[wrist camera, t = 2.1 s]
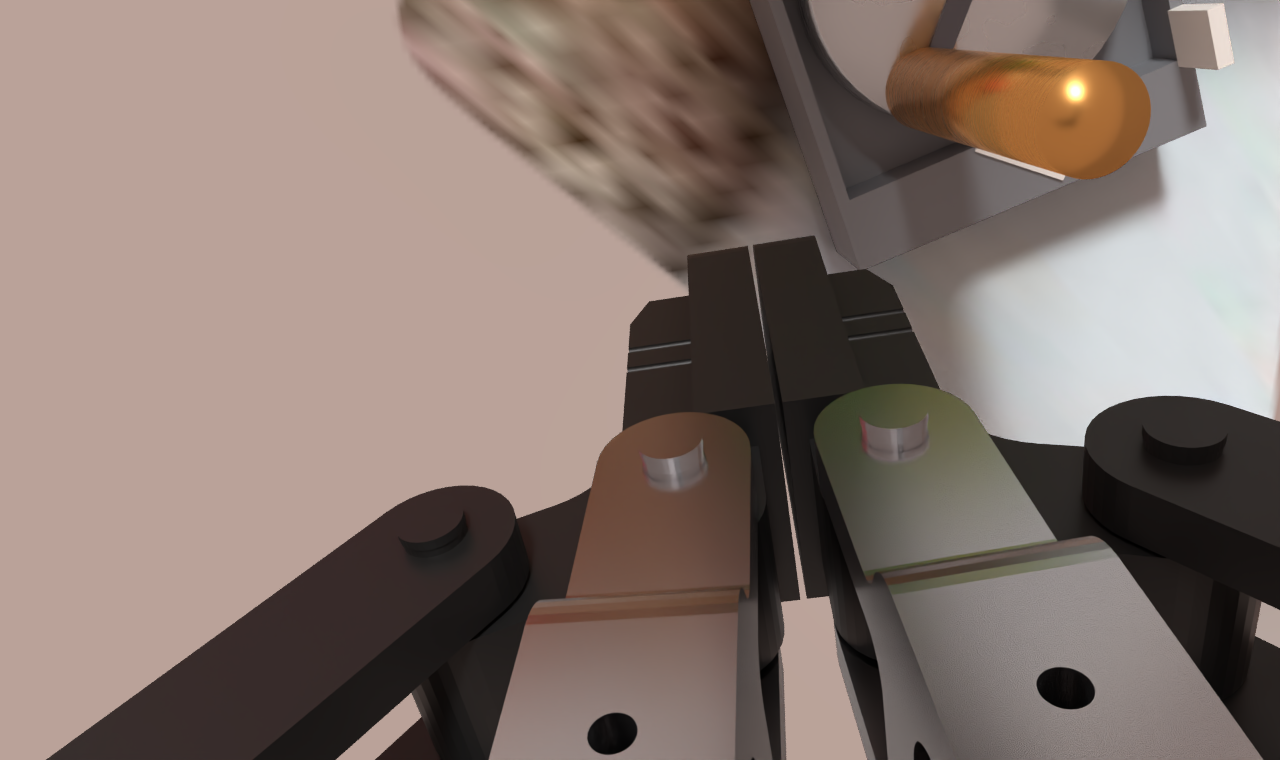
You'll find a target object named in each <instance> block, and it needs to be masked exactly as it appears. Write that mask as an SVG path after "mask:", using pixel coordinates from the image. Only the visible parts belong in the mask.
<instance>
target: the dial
mask: <svg viewBox="0 0 1280 760" xmlns="http://www.w3.org/2000/svg"><path fill="white" fill-rule="evenodd" d="M796 1H797V5H798V10H799V15H800V18H801V21H802V23H803V26H804V29H805V32H806V35H807V37H808V39H809V41H810V43H811V45H812V47H813V49H814V51H815V53H816V54H817V56H818V57H819V59H820V60H821V62H822V63H823V65H824V66H825V67H826V69H827V70H828V72H829V73H830V74H831V75H832V76H833V77H834V78H835V79H836V80H837V81H838V82H839V83H840V85H841V86H843V87H844V88H845V89H846V90H848V91H849V92H850V93H851V94H852V95H854V96H855V97H856V98H858V99H859V100H861V101H863V102H864V103H866V104H868V105H869V106H871V107H873V108H875V109H877V110H880V111H882V112H885V113H887V114H889V115H892V116H893V117H894V118H895V119H896V120H897V121H898V122H900V123H901V124H903V125H904V126H907V127H909V128H912V129H916V130H919V131H922V132H925V133H929V134H932V135H935V136H938V137H942V138H945V139H948V140H951V141H955V142H958V143H961V144H964V145H968V146H971V147H974V148H977V149H981V150H984V151H987V152H990V153H994V154H997V155H1000V156H1003V157H1007V158H1010V159H1013V160H1016V161H1019V162H1023V163H1026V164H1029V165H1032V166H1036V167H1039V168H1042V169H1045V170H1049V171H1052V172H1055V173H1058V174H1062V175H1065V176H1068V177H1072V178H1076V179H1094V178H1099V177H1102V176H1106V175H1108V174H1110V173H1112V172H1114V171H1116V170H1117V169H1119V168H1120V167H1122V166H1123V165H1124V164H1125V163H1127V162H1128V161H1129V160H1130V159H1131V158H1132V156H1133V155H1134V154H1135V153H1136V152H1137V150H1138V149H1139V147H1140V146H1141V144H1142V142H1143V140H1144V138H1145V136H1146V133H1147V131H1148V127H1149V124H1150V117H1151V103H1150V97H1149V93H1148V91H1147V88H1146V86H1145V84H1144V82H1143V81H1142V79H1141V78H1140V77H1139V75H1138V74H1137V73H1135V72H1134V71H1133V70H1132V69H1130V68H1129V67H1127V66H1125V65H1123V64H1121V63H1117V62H1114V61H1104V60H1092V59H1093V58H1094V57H1095V56H1096V54H1097V53H1098V52H1099V51H1100V50H1101V48H1102V47H1103V45H1104V44H1105V42H1106V40H1107V39H1108V37H1109V36H1110V34H1111V33H1112V31H1113V30H1114V28H1115V26H1116V24H1117V22H1118V20H1119V18H1120V16H1121V14H1122V12H1123V10H1124V8H1125V6H1126V3H1127V0H796Z"/></svg>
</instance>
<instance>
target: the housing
mask: <svg viewBox="0 0 1280 760" xmlns="http://www.w3.org/2000/svg"><path fill="white" fill-rule="evenodd" d="M749 1H750V4H751V6H752V9H753V12H754V15H755V18H756V21H757V24H758V27H759V29H760V32H761V35H762V38H763V41H764V44H765V47H766V50H767V52H768V55H769V58H770V61H771V64H772V67H773V70H774V73H775V75H776V78H777V81H778V84H779V87H780V90H781V93H782V96H783V98H784V101H785V104H786V107H787V110H788V113H789V116H790V119H791V121H792V124H793V127H794V130H795V133H796V136H797V139H798V142H799V144H800V147H801V150H802V153H803V156H804V159H805V162H806V165H807V167H808V170H809V173H810V176H811V179H812V182H813V185H814V188H815V190H816V193H817V196H818V199H819V202H820V205H821V208H822V211H823V213H824V216H825V219H826V222H827V225H828V228H829V231H830V234H831V236H832V239H833V242H834V245H835V248H836V251H837V252H838V253H839V254H840V255H842V256H843V257H844V258H845V259H846V260H848V261H849V262H850V263H851V264H852V265H854V266H855V267H856V268H857V269H858V270H862V269H868V268H870V267H872V266H875V265H877V264H879V263H882V262H884V261H887V260H889V259H891V258H894V257H896V256H899V255H901V254H903V253H906V252H908V251H910V250H913V249H915V248H918V247H920V246H922V245H925V244H927V243H929V242H932V241H934V240H937V239H939V238H941V237H944V236H946V235H949V234H951V233H953V232H956V231H958V230H960V229H963V228H965V227H968V226H970V225H972V224H975V223H977V222H979V221H982V220H984V219H987V218H989V217H991V216H994V215H996V214H999V213H1001V212H1003V211H1006V210H1008V209H1010V208H1013V207H1015V206H1018V205H1020V204H1022V203H1025V202H1027V201H1029V200H1032V199H1034V198H1037V197H1039V196H1041V195H1044V194H1046V193H1049V192H1051V191H1053V190H1056V189H1058V188H1060V187H1063V186H1065V185H1068V184H1070V183H1072V182H1075V181H1077V180H1079V179H1076V178H1072V177H1068V176H1065V175H1062V174H1058V173H1055V172H1052V171H1049V170H1045V169H1042V168H1039V167H1036V166H1032V165H1029V164H1026V163H1023V162H1019V161H1016V160H1013V159H1010V158H1007V157H1003V156H1000V155H997V154H994V153H990V152H987V151H984V150H981V149H977V148H974V147H971V146H968V145H964V144H961V143H958V142H955V141H951V140H948V139H945V138H942V137H938V136H935V135H932V134H929V133H925V132H922V131H919V130H916V129H912V128H909V127H907V126H904V125H903V124H901V123H900V122H898V121H897V120H896V119H895V118H894V117H893V116H892V115H889V114H887V113H885V112H882V111H880V110H877V109H875V108H873V107H871V106H869V105H868V104H866V103H864V102H863V101H861V100H859V99H858V98H856V97H855V96H854V95H852V94H851V93H850V92H849V91H848V90H846V89H845V88H844V87H843V86H841V85H840V83H839V82H838V81H837V80H836V79H835V78H834V77H833V76H832V75H831V74H830V73H829V72H828V70H827V69H826V67H825V66H824V65H823V63H822V62H821V60H820V59H819V57H818V56H817V54H816V53H815V51H814V49H813V47H812V45H811V43H810V41H809V39H808V37H807V35H806V32H805V29H804V26H803V23H802V21H801V18H800V15H799V10H798V5H797V1H796V0H749ZM1092 60H1104V61H1114V62H1117V63H1121V64H1123V65H1125V66H1127V67H1129V68H1130V69H1132V70H1133V71H1134V72H1135V73H1137V74H1138V75H1139V77H1140V78H1141V79H1142V81H1143V82H1144V84H1145V86H1146V88H1147V91H1148V93H1149V97H1150V103H1151V117H1150V124H1149V127H1148V131H1147V133H1146V136H1145V138H1144V140H1143V142H1142V144H1141V146H1140V147H1139V149H1138V150H1137V152H1136V153H1135V154H1134V155H1133V156H1132V157H1134V156H1137V155H1139V154H1141V153H1144V152H1146V151H1149V150H1151V149H1153V148H1156V147H1158V146H1160V145H1163V144H1165V143H1168V142H1170V141H1172V140H1175V139H1177V138H1180V137H1182V136H1184V135H1187V134H1189V133H1191V132H1194V131H1196V130H1199V129H1201V128H1203V127H1206V121H1205V116H1204V111H1203V105H1202V100H1201V95H1200V90H1199V85H1198V80H1197V75H1196V69H1195V68H1200V69H1213V70H1219V69H1222V68H1224V67H1226V66H1229V65H1231V64H1233V63H1234V58H1233V52H1232V47H1231V41H1230V36H1229V30H1228V25H1227V19H1226V13H1225V8H1224V3H1215V4H1183V2H1182V0H1127V3H1126V6H1125V8H1124V10H1123V12H1122V14H1121V16H1120V18H1119V20H1118V22H1117V24H1116V26H1115V28H1114V30H1113V31H1112V33H1111V34H1110V36H1109V37H1108V39H1107V40H1106V42H1105V44H1104V45H1103V47H1102V48H1101V50H1100V51H1099V52H1098V53H1097V54H1096V56H1095V57H1094V58H1093V59H1092Z"/></svg>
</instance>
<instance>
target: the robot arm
mask: <svg viewBox="0 0 1280 760" xmlns="http://www.w3.org/2000/svg"><path fill="white" fill-rule="evenodd" d="M753 251H754V259H755V267H756V275H757V283H758V291H759V298H760V306H761V314H762V321H763V329H764V337H765V343H764V337H763V332H762V326H761V320H760V314H759V309H758V303H757V297H756V291H755V285H754V280H753V274H752V268H751V262H750V256H749V251H748V246H745V247H738V248H732V249H725V250H719V251H712V252H706V253H699V254H693V255H688V256H687V260H688V286H689V296H683V297H676V298H670V299H663V300H656V301H649V303H648V304H647V305H646V306H645V307H644V309H643V310H642V311H641V312H640V313H639V315H638V316H637V317H636V318H635V319H634V321H633V322H632V323H631V324H630V336H629V353H628V364H627V370H628V373H627V377H626V390H625V404H624V417H623V431H622V432H621V433H619V434H618V435H617V436H615V437H614V438H613V439H612V440H611V441H610V442H609V443H608V444H607V445H606V446H605V447H604V449H603V451H602V452H601V453H600V456H599V459H598V461H597V465H596V469H595V473H594V478H593V482H592V486H591V488H589V489H588V490H586V491H585V492H583V493H582V494H580V495H578V496H576V497H574V498H572V499H570V500H568V501H565V502H563V503H560V504H558V505H555V506H552V507H550V508H547V509H544V510H541V511H538V512H535V513H532V514H530V515H526V516H524V517H521V518H518V519H516V516H515V513H514V509H513V507H512V505H511V504H510V502H509V501H508V500H507V499H506V498H505V497H504V496H503V495H501V494H500V493H498V492H496V491H494V490H491V489H488V488H485V487H478V486H452V487H445V488H441V489H436V490H433V491H429V492H426V493H423V494H420V495H418V496H415V497H413V498H410V499H408V500H406V501H404V502H402V503H400V504H399V505H397V506H395V507H394V508H393V509H391V510H389V511H388V512H386V513H385V514H383V515H382V516H381V517H379V518H378V519H377V520H375V521H374V522H372V523H371V524H370V525H368V526H367V527H366V528H364V529H363V530H361V531H360V532H359V533H357V534H356V535H355V536H353V537H352V538H350V539H349V540H348V541H346V542H345V543H344V544H342V545H341V546H339V547H338V548H337V549H335V550H334V551H333V552H331V553H330V554H328V555H327V556H326V557H324V558H323V559H322V560H320V561H319V562H317V563H316V564H315V565H313V566H312V567H311V568H309V569H308V570H306V571H305V572H304V573H302V574H301V575H299V576H298V577H297V578H295V579H294V580H293V581H291V582H290V583H288V584H287V585H286V586H284V587H283V588H282V589H280V590H279V591H277V592H276V593H275V594H273V595H272V596H271V597H269V598H268V599H266V600H265V601H264V602H262V603H261V604H260V605H258V606H257V607H255V608H254V609H253V610H251V611H250V612H249V613H247V614H246V615H245V616H243V617H242V618H240V619H239V620H238V621H236V622H235V623H234V624H232V625H231V626H229V627H228V628H227V629H225V630H224V631H223V632H221V633H220V634H218V635H217V636H216V637H215V638H213V639H211V640H210V641H209V642H207V643H206V644H205V645H203V646H202V647H200V649H198V650H196V651H195V652H194V653H192V654H191V655H189V656H188V657H187V658H185V659H184V660H183V661H181V662H180V663H178V664H177V665H176V666H174V667H173V668H172V669H170V670H169V671H167V672H166V673H165V674H163V675H162V676H161V677H159V678H158V679H156V680H155V681H154V682H152V683H151V684H150V685H148V686H147V687H145V688H144V689H143V690H141V691H140V692H139V693H137V694H136V695H134V696H133V697H132V698H130V699H129V700H128V701H126V702H125V703H123V704H122V705H121V706H119V707H118V708H117V709H115V710H114V711H112V712H111V713H110V714H109V715H107V716H106V717H104V718H103V719H102V720H100V721H99V722H97V723H96V724H95V725H93V726H92V727H91V728H89V729H88V730H86V731H85V732H84V733H82V734H81V735H79V736H78V737H77V738H75V739H74V740H73V741H71V742H70V743H68V744H67V745H66V746H64V747H63V748H62V749H61V750H59V751H57V752H56V753H55V754H53V755H52V756H51V757H49V758H48V759H46V760H336V759H337V758H338V757H339V756H340V755H341V754H342V753H344V752H345V751H346V750H347V749H348V748H349V747H350V746H352V745H353V744H354V743H355V742H356V741H357V740H358V739H359V738H361V737H362V736H363V735H364V734H365V733H366V732H367V731H368V730H369V729H371V728H372V727H373V726H374V725H375V724H376V723H377V722H379V721H380V720H381V719H382V718H383V717H384V716H385V715H387V714H388V713H389V712H390V711H391V710H392V709H393V708H394V707H395V706H396V705H398V704H399V703H400V702H401V701H402V700H403V699H404V698H406V697H407V696H408V695H409V694H410V693H412V695H413V697H414V700H415V702H416V704H417V707H418V709H419V712H420V714H421V716H422V717H421V718H420V719H419V720H418V721H417V722H416V723H415V724H414V725H413V726H411V727H410V728H409V729H408V730H407V731H406V732H405V733H404V734H403V735H402V736H400V737H399V738H398V739H397V740H396V741H395V742H394V743H393V744H392V745H391V746H390V747H388V748H387V749H386V750H385V751H384V752H383V753H382V754H381V755H380V756H379V757H377V758H376V759H375V760H786V738H785V704H784V674H783V673H784V672H783V665H782V657H781V651H780V647H781V645H782V642H783V637H784V622H783V614H782V606H781V602H784V601H793V600H800V594H799V587H798V580H797V571H796V563H795V555H794V548H793V540H792V532H791V524H790V517H789V509H788V501H787V493H786V486H785V478H784V470H783V463H782V455H783V461H784V467H785V473H786V479H787V484H788V490H789V496H790V502H791V508H792V514H793V520H794V526H795V531H796V537H797V543H798V549H799V555H800V560H801V566H802V572H803V578H804V584H805V590H806V596H807V598H816V597H825V596H829V598H830V603H831V608H832V613H833V618H834V628H835V637H836V646H837V655H838V661H839V666H840V669H841V673H842V676H843V679H844V683H845V686H846V689H847V693H848V696H849V699H850V703H851V706H852V710H853V713H854V716H855V720H856V723H857V726H858V730H859V733H860V736H861V740H862V743H863V746H864V750H865V753H866V757H867V760H1280V648H1278V647H1276V646H1274V645H1272V644H1270V643H1268V642H1266V641H1264V640H1262V639H1260V638H1258V637H1256V636H1255V633H1256V628H1257V622H1258V617H1259V612H1260V606H1261V601H1262V602H1264V603H1266V604H1268V605H1271V606H1273V607H1275V608H1277V609H1279V610H1280V422H1279V421H1276V420H1273V419H1270V418H1267V417H1264V416H1260V415H1257V414H1254V413H1251V412H1248V411H1245V410H1242V409H1239V408H1236V407H1233V406H1230V405H1226V404H1223V403H1219V402H1215V401H1211V400H1206V399H1200V398H1193V397H1183V396H1155V397H1145V398H1139V399H1133V400H1129V401H1126V402H1122V403H1119V404H1117V405H1114V406H1112V407H1109V408H1108V409H1106V410H1104V411H1103V412H1101V413H1099V414H1098V415H1097V416H1096V417H1095V418H1094V419H1093V420H1092V421H1091V423H1090V424H1089V426H1088V427H1087V430H1086V434H1085V443H1084V447H1081V446H1065V445H1050V444H1036V443H1026V442H1019V441H1013V440H1008V439H1004V438H1000V437H997V436H993V435H990V434H988V433H987V431H986V430H985V428H984V427H983V425H982V424H981V422H980V421H979V419H978V418H977V416H976V414H975V413H974V412H973V410H972V409H971V408H970V407H969V406H968V405H967V404H966V403H965V402H963V401H962V400H961V399H959V398H958V397H956V396H954V395H952V394H950V393H947V392H945V391H942V390H940V388H939V386H938V384H937V382H936V380H935V377H934V375H933V373H932V371H931V369H930V366H929V364H928V362H927V360H926V358H925V355H924V353H923V351H922V349H921V347H920V344H919V342H918V340H917V338H916V336H915V333H914V332H912V327H911V325H910V322H909V320H908V318H907V316H906V314H905V313H904V312H903V307H902V305H901V303H900V300H899V298H898V296H897V294H896V292H895V289H894V287H893V285H891V284H889V283H888V282H886V281H884V280H883V279H881V278H880V277H878V276H876V275H875V274H873V273H871V272H870V271H868V270H867V269H862V270H855V271H848V272H842V273H835V274H828V275H827V272H826V269H825V266H824V263H823V260H822V257H821V253H820V250H819V247H818V244H817V241H816V238H815V236H808V237H802V238H795V239H789V240H782V241H776V242H769V243H763V244H757V245H753ZM765 344H766V349H765ZM766 352H767V355H766ZM767 360H768V361H767ZM779 438H780V439H779ZM780 444H781V447H780ZM781 449H782V455H781Z"/></svg>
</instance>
